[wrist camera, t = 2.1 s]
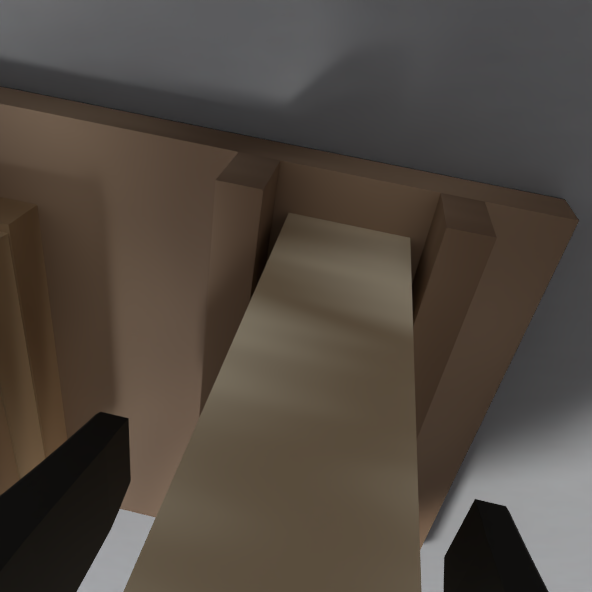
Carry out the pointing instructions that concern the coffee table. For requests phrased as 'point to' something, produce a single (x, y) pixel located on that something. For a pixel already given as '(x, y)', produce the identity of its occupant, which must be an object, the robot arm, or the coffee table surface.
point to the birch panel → (304, 433)
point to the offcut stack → (26, 348)
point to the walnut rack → (254, 269)
